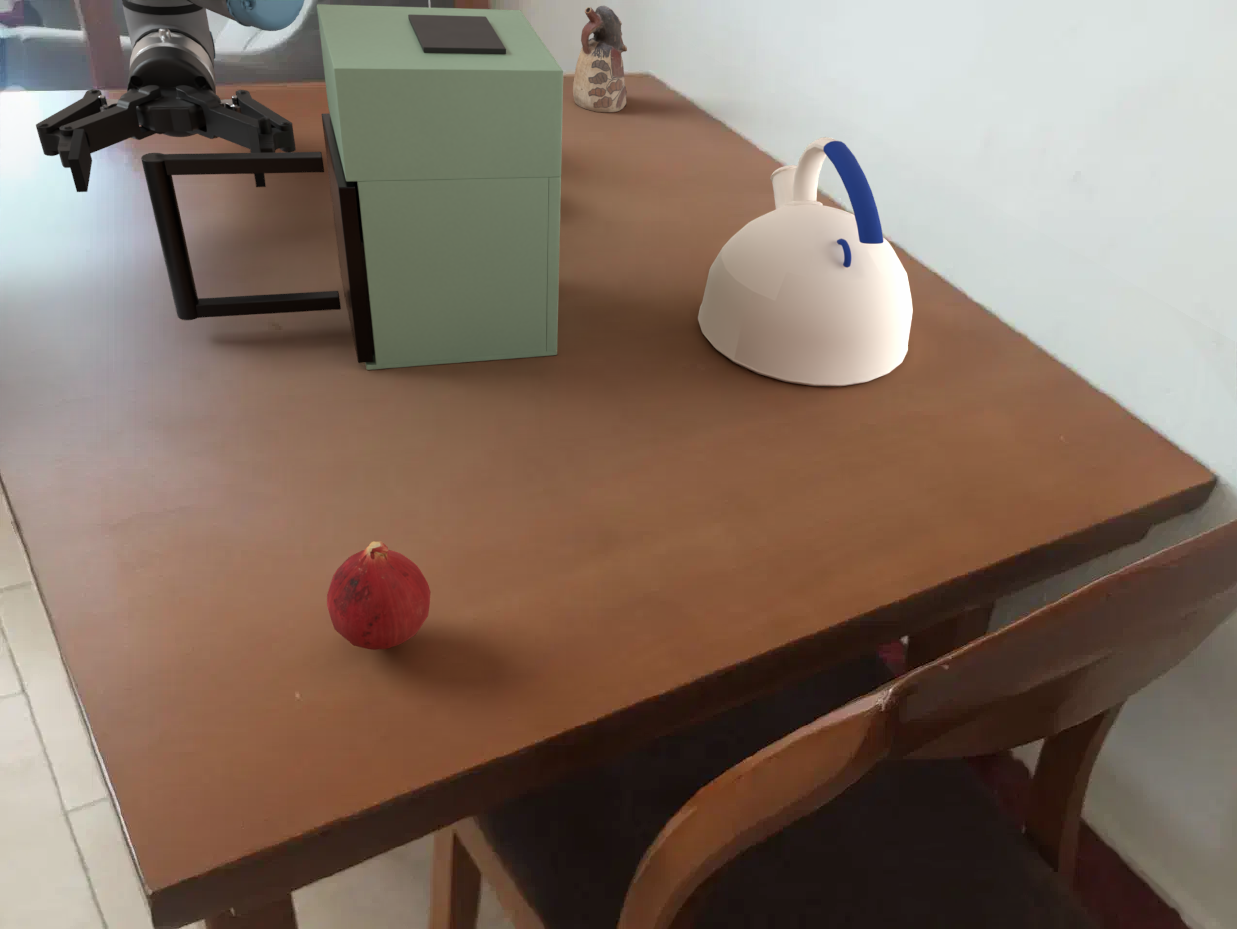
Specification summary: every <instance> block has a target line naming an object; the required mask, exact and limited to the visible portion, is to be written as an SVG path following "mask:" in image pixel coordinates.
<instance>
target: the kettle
mask: <svg viewBox="0 0 1237 929" xmlns="http://www.w3.org/2000/svg"><path fill="white" fill-rule="evenodd" d="M826 158H828V160H830V162H831V164H832V165H833V166H834V168H835V170H836V171H837V173H838V175H839V177H840V180H841V181H842V184H843V186H844V189H845V190H846V193H847V195H848V199H849V202H850V205H851V208H852V209H853V210H852V211H853V213H851V212H849V211H846V210H843V209H839V208H837V207H833V206H828V205H823V203H822V202H821V201H818V200H817V198H818V197H817V195H818V184H819V178H820V173H821V170H822V166H823V164H824V161H825V160H826ZM769 181H770V182H771V183H772V190H773V197H774V198H773V199H774V204H775V205H774V207H775V209H774V210H771V211H769V212H767V213H764V214H762V215H760V216H759V217H756V218H754V219H752V220H750V221H748V222H747V223H746V224H745V225H744V226H743V227H742V228H740V229H739V230H738V231H737V232H736V233H735V234H733V235H732V236H731V237H730V238H729V239H728V241H727V242H726V243H725V244H724V245H723V246H722V248H721V249H720V251H719V252H718V254H717V256H716V257H715V259H714V260H713V262H712V264H711V265H710V267H709V270H708V274H707V279H706V283H705V288H704V291H703V292H704V293H703V297H702V301H701V304H700V306H699V311H698V315H697V321H698V324H699V327H700V330H701V333H702V335H704V337H705V339H707V340H708V341H709V343H710V344H711V345H712V346H713V348H715V350H716V351H718V352H719V353H721V354H722V355H723V356H725V357H726V358H727V359H729V360H730V361H731V362H733V363H735V364H736V365H739V366H740V367H743V368H745V369H747V370H749V371H752V372H754V373H755V374H758V375H761V376H765V377H766V378H767V377H768V378H772V379H775V380H777V381H782V382H785V383H789V384H790V383H791V384H798V385H806V386H809V387H810V386H812V387H845V386H852V385H858V384H864V383H868V382H871V381H873V380H876V379H878V378H881V377H883V376H886V375H889V374H890V373H891V372H892V371H894V370H895V369H896V368H897V367H899V366H900V365H901V364H902V363H903V361H904V360H905V357H906V355H907V354H908V351H909V346H908V345H909V339H910V333H911V328H912V327H911V326H912V319H913V312H914V310H913V307H914V306H913V299H912V293H911V287H910V283H909V278H908V273H907V271H906V269H905V268H904V265H903V263H902V262H901V260H900V259H899V257H898V255H897V253H896V251H895V250H894V248H893V247H892V245H891V243H890V242H889V241H888V240H887V239H886V238H885V237H884V234H883V229H882V223H881V219H880V214H879V211H878V207H877V204H876V201H875V197H874V194H873V191H872V188H871V186H870V184H869V182H868V179H867V177H866V174H865V173H864V170H863V169H862V167H861V165H860V163H859V161H858V160H857V158H856V156H855V154H854V153H853V152H852V151H851V149H850V148H849V147H848V146H847V144H846V143H844V142H843V141H841V140H837V139H835V138H833V137H827V136H824V137H819V138H817V139H816V140H813V141H812V142H810V143H809V144H807V146H806V147H805V148H804V150H803V152H802V153H801V155H800V156H799V158H798V161H797V164H789V165H783V166H780V167H778V168H776V169H775V170H774V171H773V172H772V174H771V175H770V178H769Z"/></svg>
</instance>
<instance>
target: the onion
mask: <svg viewBox="0 0 1237 929" xmlns="http://www.w3.org/2000/svg"><path fill="white" fill-rule="evenodd" d="M431 593H432V592H431V589H430V586H429V582H428V581H427V579H426V577H425V576H424V574H423V572H422V570H421V569H420V567H419V566H418V565H417V564H416V563H415V562H414V561H413V560H411V559H410V558H408V557H407V556H405V555H404V554H403V553H401V552H398V551H395V550H391V549H389V547H388V546H387V545H386V544H385V543H384V542H383V541H382V540H379V541H374V540H373V541H371V542H370V543H369V545H368V546H366V547H365V549H363V550H360V551H358V552H356V553H354V554H352V555H350V556H349V557H348V558H346V559H345V561H343V563H342V564H341V565H340V566H338V568H337V569H336V570H335V572H334V574H333V576H332V578H331V581H330V584H329V587H328V591H327V593H326V607H327V611H328V613H329V617H330V620H331V623H332V625H333V628H334V631H336V632H337V633H338V634H339V635H341V637H343V638H344V639H345V640H346V641H348V642H349V643H350V644H351V645H352V646H354V647H359V648H362V649H367V650H373V651H375V650H376V651H377V650H387V649H390V648H393V647H396V646H399V645H402V644H404V643H406V642H407V641H408V640H410V639H411V638H414V637H415V636H416V634H417V633H418V632H419V630H421V628H422V626H423V624H424V623H425V622H426V620H427V618H428V617H429V613H430V604H431Z"/></svg>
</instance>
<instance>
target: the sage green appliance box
mask: <svg viewBox="0 0 1237 929" xmlns="http://www.w3.org/2000/svg"><path fill="white" fill-rule="evenodd" d="M316 11H317V20H318V29H319V37H320V38H319V39H320V47H321V55H322V64H323V73H324V81H325V83H324V84H325V91H326V99H327V100H326V101H327V107H328V112H329V113H330V116H331V121H332V125H333V129H334V133H335V137H336V141H337V145H338V150H339V154H340V158H341V162H342V166H343V170H344V174H345V179H346V181H357V186H358V196H359V206H360V215H361V225H362V235H363V245H364V255H365V264H366V274H367V284H368V294H369V303H370V313H371V323H372V333H373V343H374V352H375V355H373V362H365V363H364V364H365V368H366V371H369V370H382V369H394V368H395V369H397V368H408V367H421V366H435V365H446V364H447V365H448V364H459V363H472V362H473V363H474V362H485V361H499V360H509V359H524V358H535V357H548V356H549V357H550V356H557V355H558V329H559V328H558V327H559V326H558V324H559V289H560V288H559V287H560V286H559V285H560V282H559V281H560V244H561V243H560V241H561V240H560V238H561V237H560V235H561V229H560V228H561V197H562V196H561V194H562V193H561V192H562V190H561V189H562V152H563V151H562V149H563V148H562V147H563V146H562V145H563V139H562V138H563V102H564V101H563V100H564V98H563V96H564V70H563V68H562V67H561V66H560V64H559V63H558V62H557V60H556V58H555V57H554V56H553V54H552V53H551V51H550V50H549V48H548V47H547V46H546V44H545V43H544V42H543V39H541V37H540V36H539V34H538V33H537V31H536V30H535V29H534V27H533V26H532V25H531V23H530V22H529V20H528V19H527V17H526V16H525V15H524V13H523V12H522V10H520V9H494V8H493V9H490V8H462V7H461V8H455V7H431V8H429V7H426V6H423V7H422V6H421V7H420V6H390V5H388V6H387V5H384V6H383V5H358V4H357V5H356V4H355V5H354V4H353V5H352V4H325V3H323V4H322V3H321V4H320V3H317V4H316Z"/></svg>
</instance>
